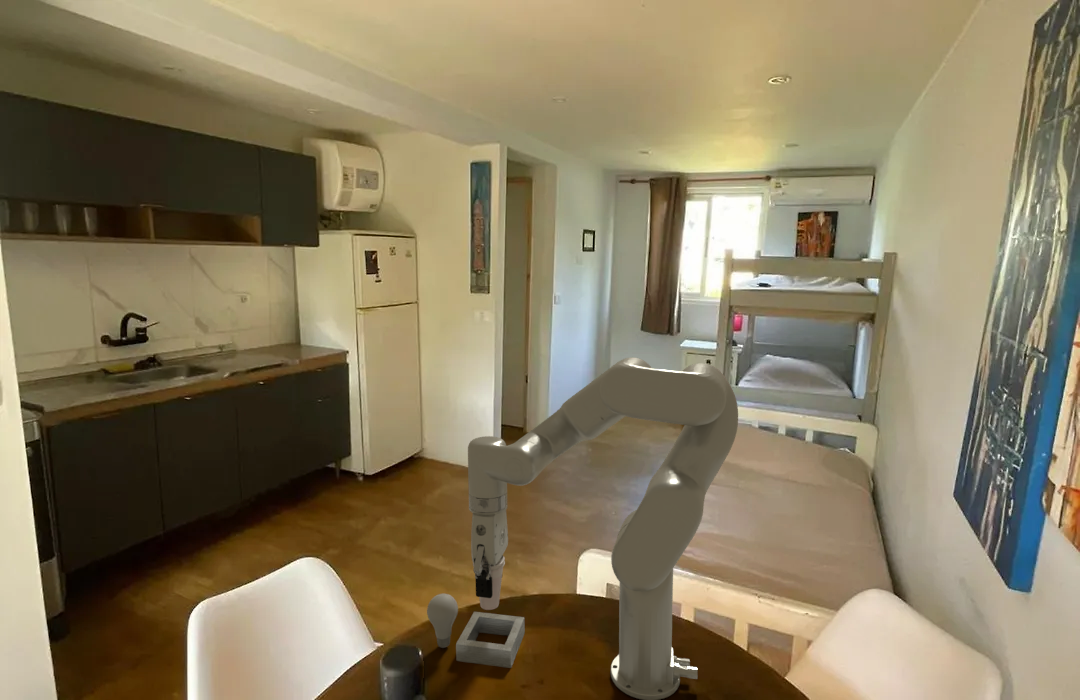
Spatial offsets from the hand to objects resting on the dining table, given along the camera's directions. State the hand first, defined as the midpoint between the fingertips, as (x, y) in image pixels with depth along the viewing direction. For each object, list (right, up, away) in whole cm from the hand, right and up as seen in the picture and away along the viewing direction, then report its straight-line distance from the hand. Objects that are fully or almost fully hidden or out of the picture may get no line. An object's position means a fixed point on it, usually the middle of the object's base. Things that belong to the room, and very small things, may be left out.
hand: (489, 586), depth 112 cm
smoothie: (0, -4, +1) cm, 4 cm away
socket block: (0, -13, +1) cm, 13 cm away
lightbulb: (-9, -13, +2) cm, 16 cm away
